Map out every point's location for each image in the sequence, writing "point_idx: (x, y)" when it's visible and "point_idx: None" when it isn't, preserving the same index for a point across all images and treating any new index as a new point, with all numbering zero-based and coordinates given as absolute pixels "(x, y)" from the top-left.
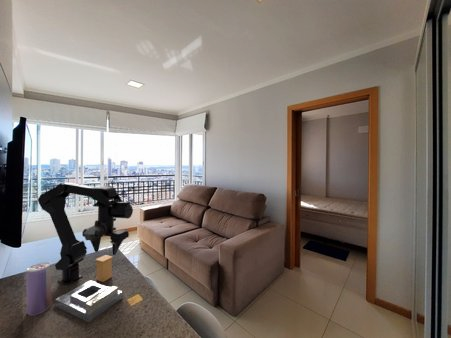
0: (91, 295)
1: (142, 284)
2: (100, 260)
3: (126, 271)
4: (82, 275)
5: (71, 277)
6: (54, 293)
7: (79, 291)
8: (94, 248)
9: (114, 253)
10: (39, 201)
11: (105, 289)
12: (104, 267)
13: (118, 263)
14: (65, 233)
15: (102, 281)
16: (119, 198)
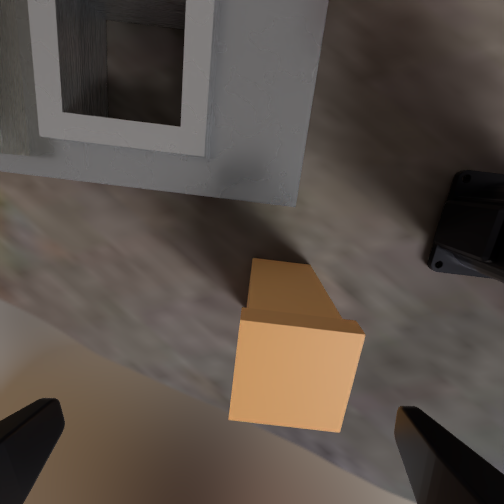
0: (53, 9)
1: (21, 297)
2: (286, 331)
3: (210, 371)
4: (433, 268)
5: (471, 202)
6: (455, 78)
7: (193, 18)
8: (470, 467)
9: (8, 427)
10: None
11: (41, 117)
12: (248, 305)
13: None
14: None
15: (258, 259)
16: None
